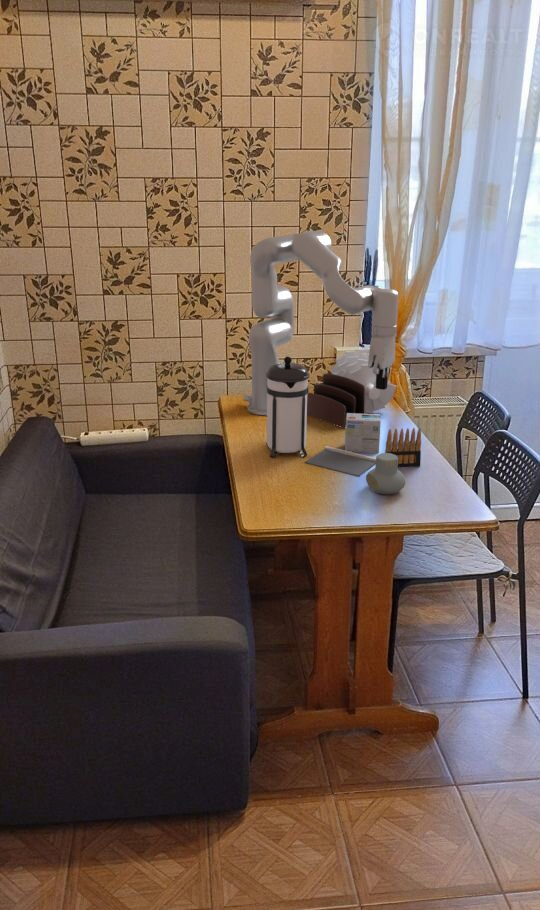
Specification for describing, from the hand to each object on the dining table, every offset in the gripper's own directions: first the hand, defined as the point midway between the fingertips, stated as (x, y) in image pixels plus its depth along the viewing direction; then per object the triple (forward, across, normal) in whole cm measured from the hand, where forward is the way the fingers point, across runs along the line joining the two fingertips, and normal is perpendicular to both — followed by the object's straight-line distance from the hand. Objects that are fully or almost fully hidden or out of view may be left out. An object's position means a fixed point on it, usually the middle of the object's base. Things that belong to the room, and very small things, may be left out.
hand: (381, 388), depth 240 cm
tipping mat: (+17, +24, -1) cm, 29 cm away
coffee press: (+17, +25, -20) cm, 36 cm away
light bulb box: (+17, +10, -1) cm, 20 cm away
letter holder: (+17, -10, -22) cm, 29 cm away
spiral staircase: (+17, -28, -21) cm, 39 cm away
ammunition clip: (+18, +16, +15) cm, 28 cm away
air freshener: (+18, +34, +18) cm, 42 cm away
